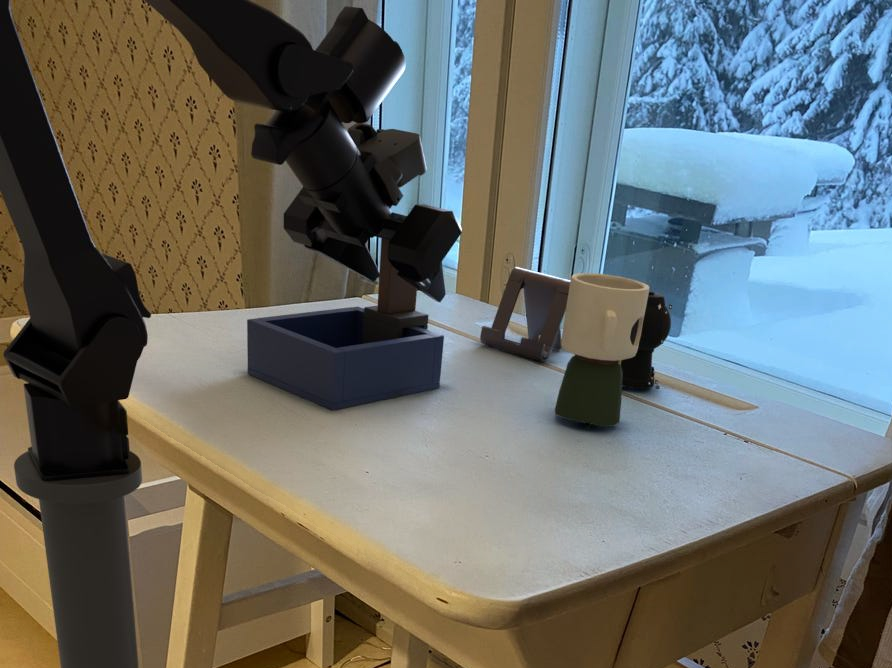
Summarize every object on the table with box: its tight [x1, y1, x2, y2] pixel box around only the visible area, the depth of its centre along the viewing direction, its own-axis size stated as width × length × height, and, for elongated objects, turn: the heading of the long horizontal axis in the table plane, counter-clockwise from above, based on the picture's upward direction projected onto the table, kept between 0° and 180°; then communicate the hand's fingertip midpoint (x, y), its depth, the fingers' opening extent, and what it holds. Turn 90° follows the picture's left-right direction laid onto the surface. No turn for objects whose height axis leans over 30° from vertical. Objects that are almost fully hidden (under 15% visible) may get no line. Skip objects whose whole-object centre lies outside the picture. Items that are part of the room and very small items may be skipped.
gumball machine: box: [621, 290, 673, 390], centre depth 103 cm, size 7×6×10 cm
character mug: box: [554, 272, 650, 428], centre depth 89 cm, size 11×7×13 cm, turn 179°
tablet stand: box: [479, 266, 571, 363], centre depth 112 cm, size 9×8×8 cm
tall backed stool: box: [362, 238, 429, 344], centre depth 95 cm, size 4×5×12 cm
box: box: [246, 306, 445, 411], centre depth 94 cm, size 14×12×5 cm
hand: (408, 287), depth 96 cm, fingers open, 9 cm apart
